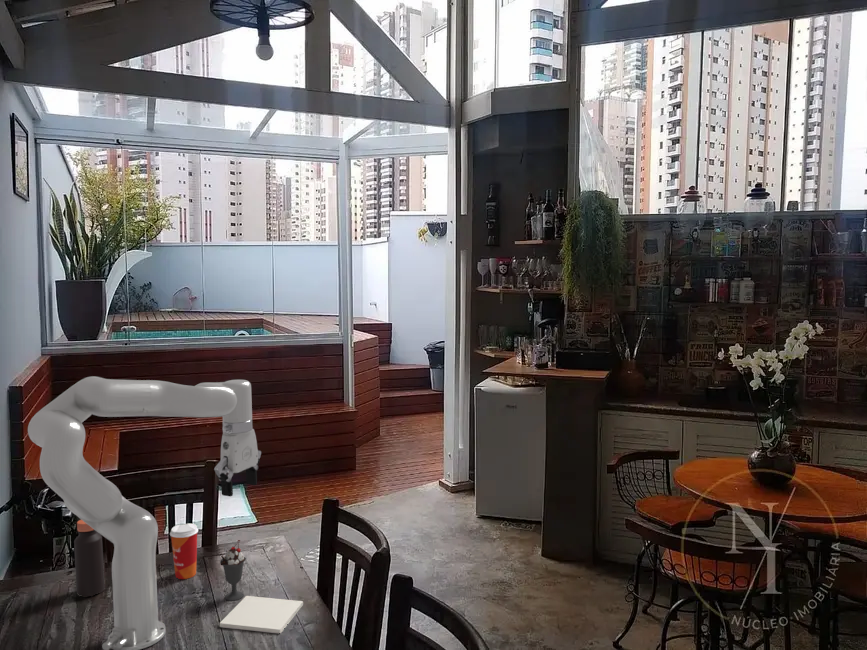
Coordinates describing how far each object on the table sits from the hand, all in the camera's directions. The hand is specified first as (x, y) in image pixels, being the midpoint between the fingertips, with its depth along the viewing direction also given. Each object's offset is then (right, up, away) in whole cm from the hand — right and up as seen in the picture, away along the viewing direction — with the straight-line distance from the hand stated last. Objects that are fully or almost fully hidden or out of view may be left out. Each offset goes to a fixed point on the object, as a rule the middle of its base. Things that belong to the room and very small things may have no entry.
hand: (239, 489), depth 177 cm
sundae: (-2, -29, +1) cm, 29 cm away
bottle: (-42, -29, +4) cm, 51 cm away
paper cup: (-20, -28, +14) cm, 37 cm away
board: (+8, -30, -9) cm, 32 cm away
